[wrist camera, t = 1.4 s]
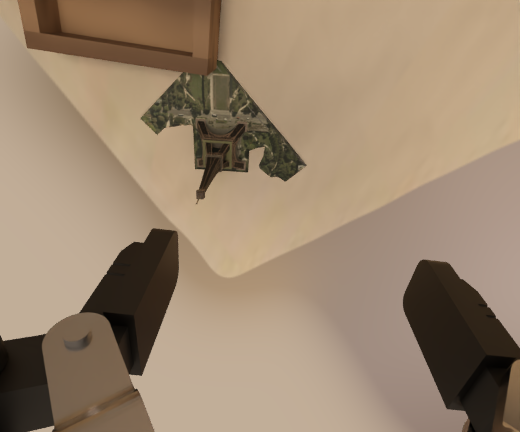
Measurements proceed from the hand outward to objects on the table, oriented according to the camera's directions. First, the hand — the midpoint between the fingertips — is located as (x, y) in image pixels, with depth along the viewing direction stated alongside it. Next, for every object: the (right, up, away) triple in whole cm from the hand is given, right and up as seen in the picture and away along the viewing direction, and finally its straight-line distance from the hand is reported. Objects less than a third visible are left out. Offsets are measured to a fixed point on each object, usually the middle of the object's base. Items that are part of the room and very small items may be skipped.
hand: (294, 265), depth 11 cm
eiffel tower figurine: (-5, +10, +23) cm, 26 cm away
